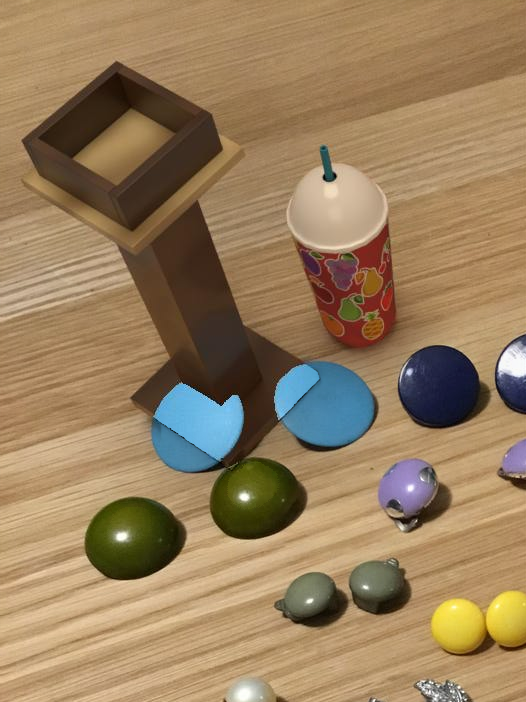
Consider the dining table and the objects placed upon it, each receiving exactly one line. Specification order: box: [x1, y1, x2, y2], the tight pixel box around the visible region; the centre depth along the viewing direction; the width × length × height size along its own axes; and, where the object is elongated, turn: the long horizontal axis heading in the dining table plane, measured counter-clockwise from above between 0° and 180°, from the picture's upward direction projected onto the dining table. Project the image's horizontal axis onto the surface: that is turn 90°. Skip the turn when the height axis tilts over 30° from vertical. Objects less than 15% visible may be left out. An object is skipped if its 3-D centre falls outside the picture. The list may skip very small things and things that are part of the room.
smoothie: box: [285, 144, 397, 348], centre depth 94 cm, size 8×8×20 cm
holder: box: [19, 60, 307, 469], centre depth 88 cm, size 12×12×29 cm
